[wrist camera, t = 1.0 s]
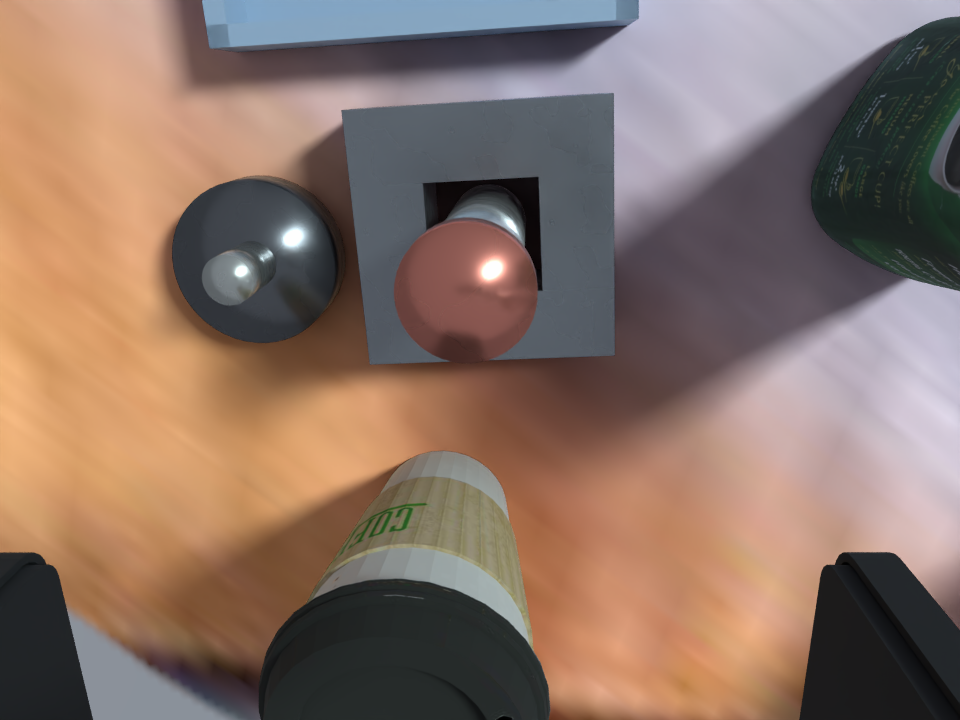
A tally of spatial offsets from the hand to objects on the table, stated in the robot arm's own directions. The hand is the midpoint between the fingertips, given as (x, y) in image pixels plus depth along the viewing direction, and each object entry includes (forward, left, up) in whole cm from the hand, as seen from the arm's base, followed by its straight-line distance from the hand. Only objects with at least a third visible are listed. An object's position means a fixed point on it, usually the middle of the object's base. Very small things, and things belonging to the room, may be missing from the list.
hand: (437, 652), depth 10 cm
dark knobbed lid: (+11, 0, -26) cm, 28 cm away
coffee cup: (+4, +13, -26) cm, 30 cm away
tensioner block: (+1, -1, -26) cm, 26 cm away
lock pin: (+1, -1, -26) cm, 26 cm away
